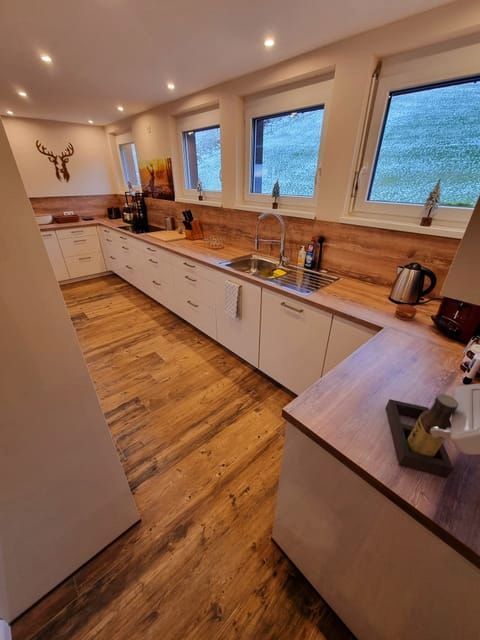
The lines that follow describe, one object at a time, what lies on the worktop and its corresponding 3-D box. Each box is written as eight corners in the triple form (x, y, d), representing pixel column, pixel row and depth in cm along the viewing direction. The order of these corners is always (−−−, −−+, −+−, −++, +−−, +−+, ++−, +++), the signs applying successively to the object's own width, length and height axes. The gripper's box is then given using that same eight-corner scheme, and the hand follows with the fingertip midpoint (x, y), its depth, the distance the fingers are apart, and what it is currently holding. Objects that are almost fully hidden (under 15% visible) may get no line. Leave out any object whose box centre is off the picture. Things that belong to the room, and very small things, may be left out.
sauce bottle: (409, 438, 73) (437, 385, 63) (434, 455, 69) (469, 400, 59) (399, 451, 70) (427, 397, 60) (425, 470, 65) (460, 415, 56)
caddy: (423, 416, 80) (428, 407, 78) (446, 478, 64) (453, 468, 62) (385, 408, 83) (389, 398, 81) (398, 465, 66) (404, 455, 64)
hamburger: (408, 323, 133) (413, 311, 129) (390, 315, 140) (394, 304, 136) (417, 318, 138) (422, 307, 134) (399, 311, 144) (403, 300, 141)
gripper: (495, 372, 61) (430, 385, 71) (504, 430, 47) (421, 436, 57) (510, 395, 61) (443, 404, 71) (524, 460, 47) (437, 461, 57)
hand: (433, 419), depth 64 cm, fingers open, 8 cm apart
